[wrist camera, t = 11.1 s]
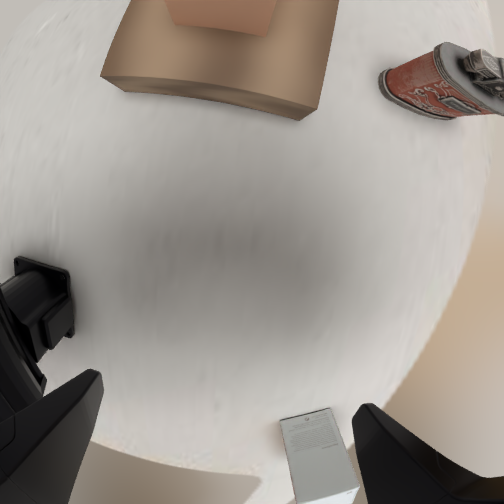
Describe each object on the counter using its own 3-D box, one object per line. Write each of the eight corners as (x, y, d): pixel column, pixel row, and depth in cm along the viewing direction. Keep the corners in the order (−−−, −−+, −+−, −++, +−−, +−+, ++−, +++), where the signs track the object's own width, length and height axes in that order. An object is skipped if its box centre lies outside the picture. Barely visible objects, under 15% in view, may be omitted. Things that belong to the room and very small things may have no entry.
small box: (279, 418, 25) (295, 504, 15) (331, 406, 25) (361, 486, 15) (286, 451, 27) (300, 520, 17) (330, 441, 27) (352, 507, 17)
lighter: (378, 102, 16) (477, 73, 6) (376, 62, 15) (464, 17, 5) (452, 127, 17) (543, 127, 7) (451, 92, 16) (537, 80, 6)
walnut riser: (124, 91, 15) (99, 76, 11) (175, -31, 11) (167, -59, 7) (299, 120, 16) (317, 109, 12) (327, -6, 13) (344, -32, 9)
